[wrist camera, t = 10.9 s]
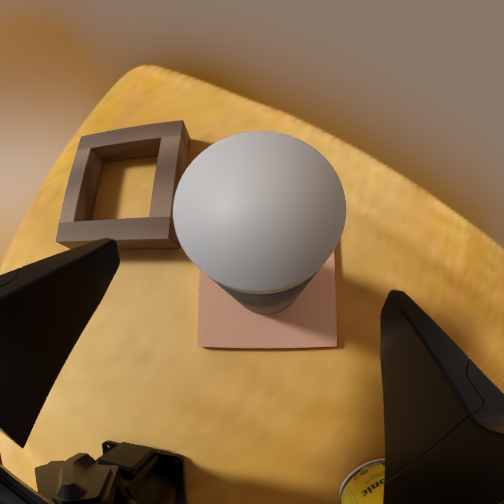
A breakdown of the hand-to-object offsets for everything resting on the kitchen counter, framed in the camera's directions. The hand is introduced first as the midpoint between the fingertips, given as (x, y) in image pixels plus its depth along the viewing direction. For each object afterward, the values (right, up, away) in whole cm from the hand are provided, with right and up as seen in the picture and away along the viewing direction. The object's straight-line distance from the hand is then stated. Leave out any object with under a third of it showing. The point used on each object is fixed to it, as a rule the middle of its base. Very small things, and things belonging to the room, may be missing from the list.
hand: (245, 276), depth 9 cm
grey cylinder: (+1, -1, +11) cm, 11 cm away
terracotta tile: (+1, -1, +11) cm, 11 cm away
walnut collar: (-10, +6, +14) cm, 18 cm away
